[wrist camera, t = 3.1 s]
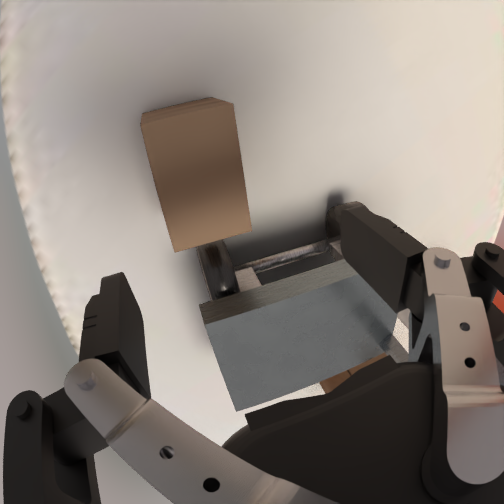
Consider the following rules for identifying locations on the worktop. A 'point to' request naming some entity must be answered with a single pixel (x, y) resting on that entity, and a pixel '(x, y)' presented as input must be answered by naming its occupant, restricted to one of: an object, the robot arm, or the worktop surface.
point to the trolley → (293, 320)
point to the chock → (197, 171)
